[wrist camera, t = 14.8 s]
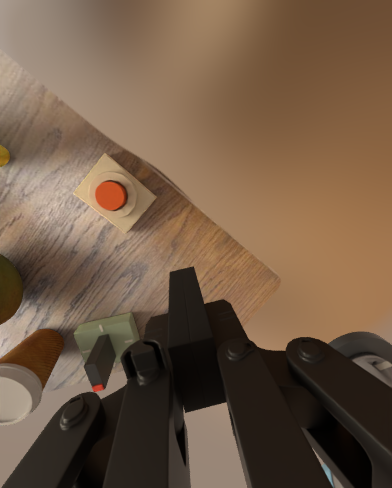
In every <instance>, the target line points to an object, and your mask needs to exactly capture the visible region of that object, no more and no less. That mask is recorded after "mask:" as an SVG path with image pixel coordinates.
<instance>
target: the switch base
mask: <svg viewBox="0 0 392 488" xmlns="http://www.w3.org/2000/svg"><path fill="white" fill-rule="evenodd" d="M103 182H115V183H118V184H120V185H121V186H122V187H123V188H124V189H125V191H126V195H127V199H126V202H125V204H124V205H123V206H122V207H120V208H118V209H115V210H107V209H104V208H102V207H101V206H100V205H99V204H98V203H97V201H96V198H95V191H96V188H97V187H98V186H99V185H100V184H101V183H103ZM74 194H75V195H76V196H77V197H79V198H80V199H81V200H82V201H84V202H85V203H86V204H88V205H89V206H90V207H91V208H93V209H94V210H95V211H97V212H98V213H99V214H100V215H102V216H103V217H104V218H106V219H107V220H108V221H109V222H111V223H112V224H113V225H115V226H116V227H117V228H118V229H120V230H121V231H122V232H124V233H125V234H126V233H127V232H128V231H129V230H130V229H131V228H132V227H133V225H134V224H135V223H136V222H137V221H138V220H139V218H140V217H141V216H142V215H143V214H144V212H145V211H146V210H147V209H148V208H149V206H150V205H151V204H152V203H153V202H154V200H155V199H156V198H157V196H155V195H154V194H153V193H152V192H151V191H150V190H149V189H147V188H146V187H145V186H144V185H143V184H142V183H140V182H139V181H138V180H137V179H136V178H135V177H134V176H132V175H131V174H130V173H129V172H128V171H127V170H125V169H124V168H123V167H122V166H121V165H120V164H118V163H117V162H116V161H115V160H114V159H113V158H112V157H110V156H109V155H108V154H106V153H104V154H103V156H102V157H101V158H100V159H99V161H98V162H97V163H96V165H95V166H94V167H93V168H92V170H91V171H90V172H89V174H88V175H87V176H86V177H85V179H84V180H83V181H82V183H81V184H80V185H79V186H78V188H77V189H76V190H75V192H74Z"/></svg>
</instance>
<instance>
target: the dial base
mask: <svg viewBox="0 0 392 488" xmlns="http://www.w3.org/2000/svg"><path fill="white" fill-rule="evenodd" d="M105 334H109V337H110V340H111V342H112V345H113V348H114V351H115V354H116V358H115V361H114V364H113V365H114V367H115V366H116V364H115V363H117V362H121V360H120V357H121V355H122V353H123V352H124V351H125V350H126V349H127V348H128V347H129V346H130V345H131V344H133V343H134V342H136V341H138V340H140V337H139V334H138V331H137V327H136V324H135V321H134V318H133V315H132V312H130V313H126V314H122V315H117V316H113V317H109V318H104V319H100V320H96V321H92V322H87V323H83V324H80V325H79V327H78V328H77V329H76V331H75V332H74V334H73V335H74V337H75V339H76V342H77V344H78V347H79V349H80V352H81V354H82V357H83V359H84V362H85V363H86V361H87V359H88V357H89V355H90V353H91V351H92V349H93V347H94V345H95V343H96V341H97V339H98V337H99V336H101V335H105Z"/></svg>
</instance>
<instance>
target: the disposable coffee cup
mask: <svg viewBox="0 0 392 488" xmlns="http://www.w3.org/2000/svg"><path fill="white" fill-rule="evenodd" d="M63 348H64V340H63V338H62V336H61V335H60V334H59V333H57V332H56V331H54V330H51V329H40V330H37V331H35V332H34V333H33V334H31V335H30V336H29V337H28V338H26V339H25V340H24V341H22V342H21V343H20V344H19V345H17V346H16V347H15V348H14V349H12V350H11V351H10V352H8V353H7V354H6V355H5V356H3V357H2V358H1V359H0V426H4V425H11V424H14V423H17V422H19V421H21V420H22V419H24V418H25V417H26V416H27V415H28V414H30V413H31V412H33V411H34V410H35V408H37V406H38V405H39V403H40V401H41V397H42V391H43V388H44V387H45V385H46V383H47V381H48V378H49V377H50V375H51V372H52V370H53V368H54V366H55V364H56V362H57V360H58V358H59V356H60V354H61V352H62V350H63Z"/></svg>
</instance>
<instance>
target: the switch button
mask: <svg viewBox="0 0 392 488" xmlns="http://www.w3.org/2000/svg"><path fill="white" fill-rule="evenodd" d="M95 198H96V201H97V203H98V204H99V205H100V206H101V207H102V208H104V209H107V210H115V209H118V208H120V207H122V206H123V205H124V204H125V202H126V199H127V195H126V191H125V189H124V188H123V187H122V186H121V185H120V184H118V183H115V182H103V183H101V184H100V185H99V186H98V187H97V188H96V191H95Z"/></svg>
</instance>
